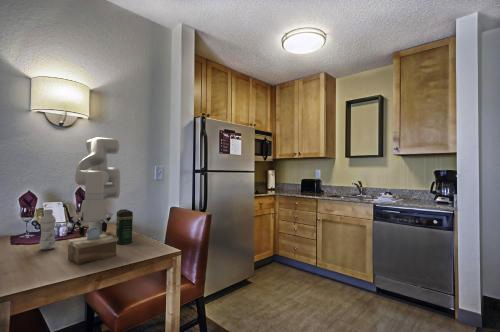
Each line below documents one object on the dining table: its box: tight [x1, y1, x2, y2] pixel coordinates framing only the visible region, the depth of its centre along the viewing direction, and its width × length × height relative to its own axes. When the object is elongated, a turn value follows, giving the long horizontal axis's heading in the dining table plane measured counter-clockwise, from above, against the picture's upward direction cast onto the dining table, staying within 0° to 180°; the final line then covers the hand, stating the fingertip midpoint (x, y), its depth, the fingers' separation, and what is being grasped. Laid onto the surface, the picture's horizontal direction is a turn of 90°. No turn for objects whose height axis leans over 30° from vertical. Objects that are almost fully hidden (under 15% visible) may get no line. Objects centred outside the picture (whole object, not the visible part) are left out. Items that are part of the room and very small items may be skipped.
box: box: [67, 241, 117, 266], centre depth 123 cm, size 12×16×7 cm
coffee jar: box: [115, 208, 134, 245], centre depth 149 cm, size 10×8×19 cm
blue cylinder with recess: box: [86, 227, 100, 240], centre depth 124 cm, size 5×5×5 cm
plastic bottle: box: [38, 208, 57, 251], centre depth 134 cm, size 6×7×20 cm
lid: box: [66, 230, 118, 249], centre depth 124 cm, size 13×17×3 cm
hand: (93, 233), depth 124 cm, fingers open, 9 cm apart
